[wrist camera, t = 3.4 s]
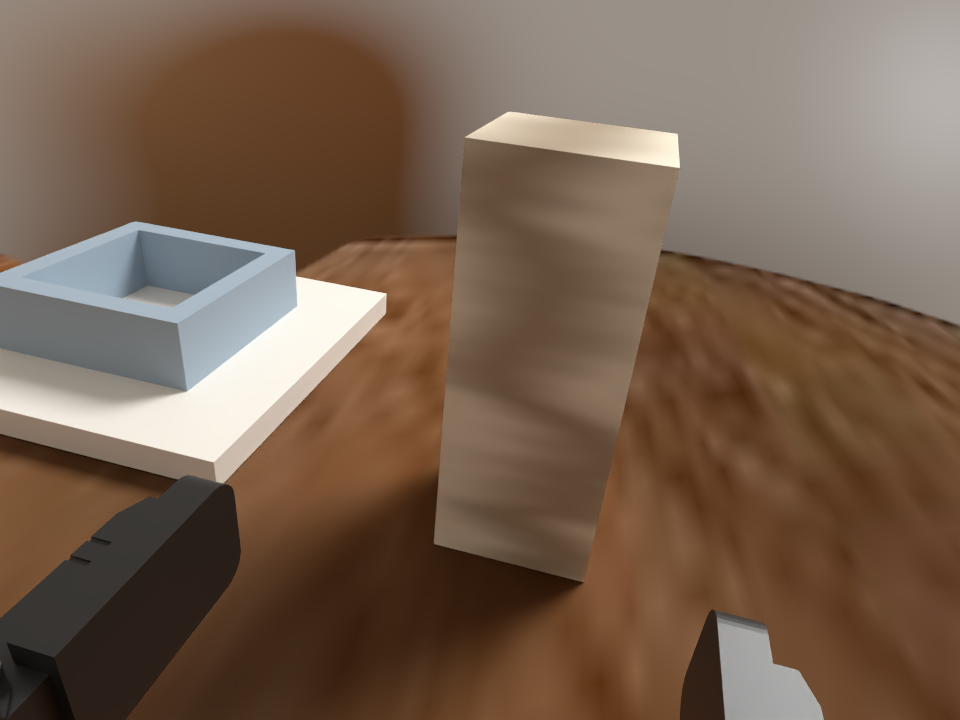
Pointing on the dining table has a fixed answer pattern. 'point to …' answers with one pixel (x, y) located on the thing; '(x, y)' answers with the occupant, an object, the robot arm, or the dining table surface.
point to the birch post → (546, 330)
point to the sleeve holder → (168, 347)
